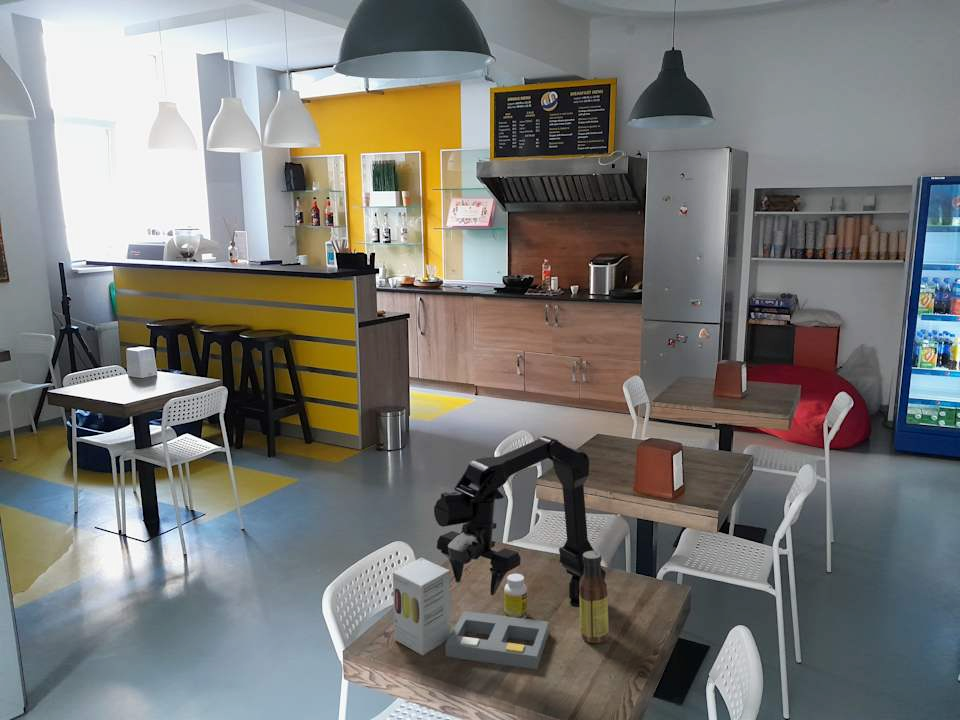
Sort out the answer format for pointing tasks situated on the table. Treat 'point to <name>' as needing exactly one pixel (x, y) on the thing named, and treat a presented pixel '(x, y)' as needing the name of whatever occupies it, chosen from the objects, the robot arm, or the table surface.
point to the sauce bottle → (593, 600)
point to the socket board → (498, 640)
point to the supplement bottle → (515, 597)
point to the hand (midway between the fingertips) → (475, 588)
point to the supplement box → (422, 605)
